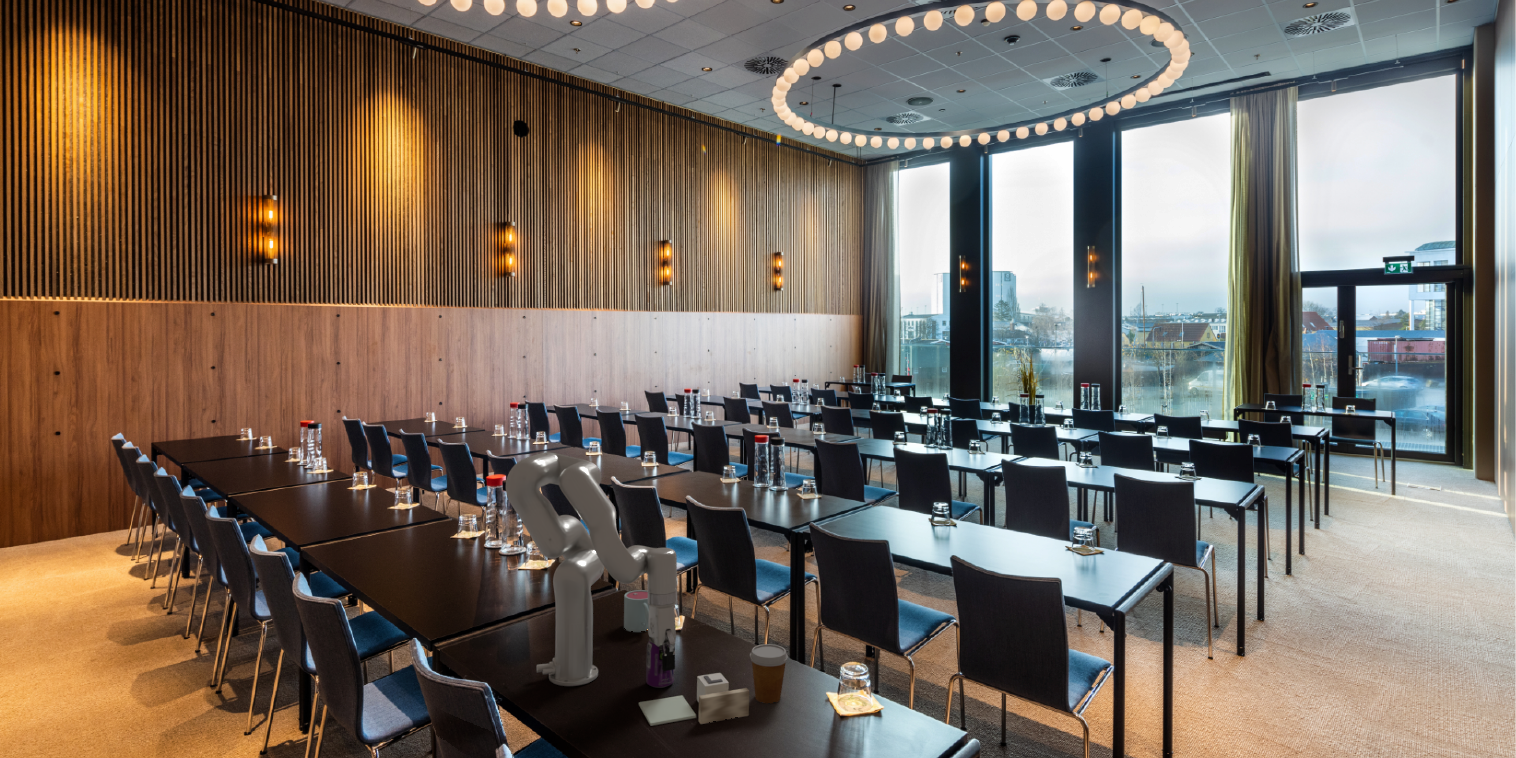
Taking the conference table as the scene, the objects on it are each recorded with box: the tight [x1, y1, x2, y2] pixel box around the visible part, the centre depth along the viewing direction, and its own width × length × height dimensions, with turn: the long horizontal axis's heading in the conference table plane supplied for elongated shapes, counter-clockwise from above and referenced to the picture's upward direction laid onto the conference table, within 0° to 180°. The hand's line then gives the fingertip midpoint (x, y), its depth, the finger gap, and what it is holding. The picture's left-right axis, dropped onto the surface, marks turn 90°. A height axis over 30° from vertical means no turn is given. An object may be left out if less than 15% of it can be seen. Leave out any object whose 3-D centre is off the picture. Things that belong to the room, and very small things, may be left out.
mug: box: [623, 589, 649, 633], centre depth 235 cm, size 14×9×10 cm
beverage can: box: [645, 637, 675, 689], centre depth 198 cm, size 7×7×12 cm
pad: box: [638, 695, 697, 726], centre depth 183 cm, size 11×11×1 cm
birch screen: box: [698, 687, 750, 725], centre depth 180 cm, size 12×2×6 cm, turn 113°
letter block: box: [696, 672, 730, 703], centre depth 187 cm, size 6×6×6 cm
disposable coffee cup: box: [749, 643, 789, 704], centre depth 191 cm, size 10×10×12 cm
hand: (663, 662), depth 197 cm, fingers open, 9 cm apart
